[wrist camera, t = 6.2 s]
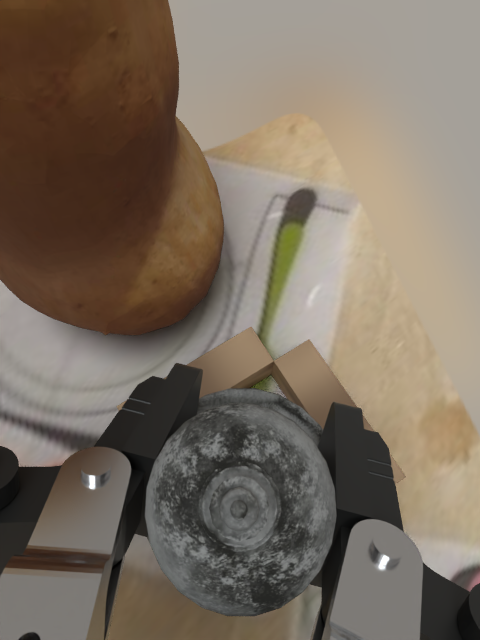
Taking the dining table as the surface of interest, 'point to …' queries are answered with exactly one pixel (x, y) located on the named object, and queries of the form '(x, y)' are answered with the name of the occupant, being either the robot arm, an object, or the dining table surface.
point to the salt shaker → (242, 503)
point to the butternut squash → (101, 167)
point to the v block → (276, 376)
